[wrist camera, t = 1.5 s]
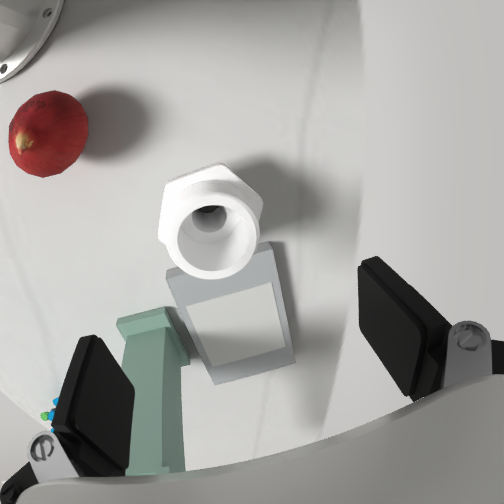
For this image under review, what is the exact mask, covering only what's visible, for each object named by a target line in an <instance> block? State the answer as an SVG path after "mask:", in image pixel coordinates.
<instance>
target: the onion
mask: <svg viewBox="0 0 504 504" xmlns="http://www.w3.org/2000/svg"><path fill="white" fill-rule="evenodd" d="M87 137H88V117H87V115H86V113H85V111H84V109H83V107H82V104H80V103H79V102H78V101H77V100H76V99H75V98H74V97H72V96H71V95H69V94H66V93H63V92H59V91H55V90H54V91H49V92H45V93H41V94H37V95H34V96H33V97H32V98H30V99H29V100H28V101H27V102H25V103H24V104H23V105H22V106H21V107H20V108H19V109H18V111H17V112H16V114H15V116H14V118H13V119H12V121H11V123H10V125H9V149H10V155H11V156H12V158H13V160H14V162H15V164H16V165H17V166H18V167H19V168H21V169H22V170H23V171H25V172H26V173H28V174H31V175H35V176H39V177H42V178H44V177H48V176H52V175H56V174H60V173H62V172H63V171H64V170H66V169H67V168H68V167H69V166H71V165H72V164H73V163H74V162H76V160H77V159H78V157H79V156H80V154H81V152H82V151H83V149H84V147H85V143H86V140H87Z"/></svg>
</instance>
